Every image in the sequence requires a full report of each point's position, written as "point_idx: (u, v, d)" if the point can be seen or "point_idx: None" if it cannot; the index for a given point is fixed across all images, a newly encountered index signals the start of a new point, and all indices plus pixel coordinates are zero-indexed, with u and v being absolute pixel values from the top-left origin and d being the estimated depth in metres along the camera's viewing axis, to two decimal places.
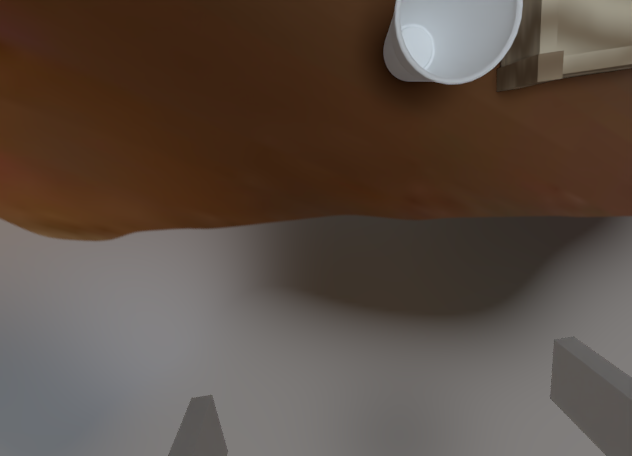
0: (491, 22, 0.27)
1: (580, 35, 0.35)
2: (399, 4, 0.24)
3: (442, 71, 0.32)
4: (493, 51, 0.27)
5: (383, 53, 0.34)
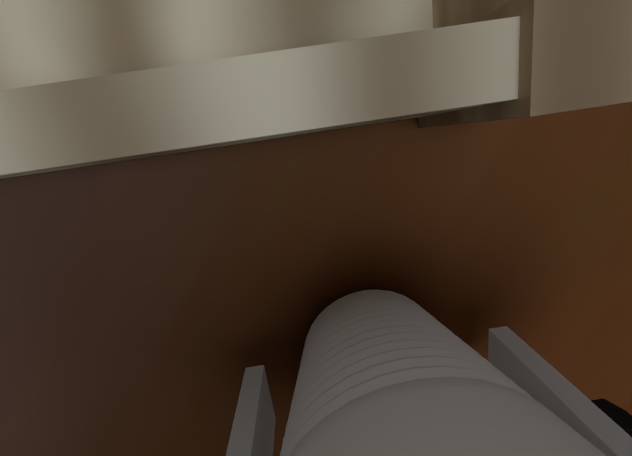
0: None
1: None
2: None
3: None
4: None
5: None
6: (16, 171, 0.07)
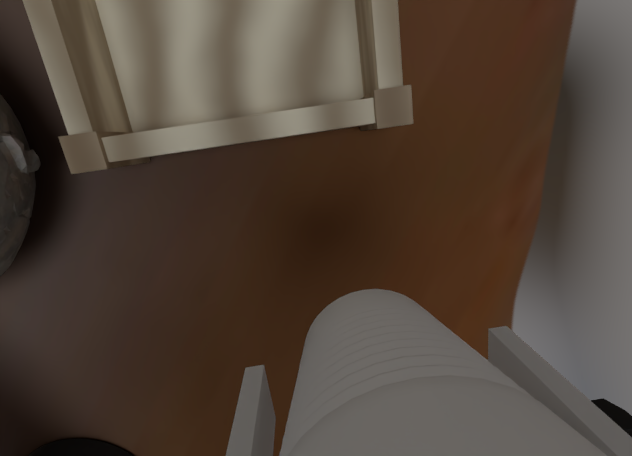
0: None
1: (323, 15, 0.24)
2: None
3: None
4: None
5: None
6: (214, 146, 0.21)
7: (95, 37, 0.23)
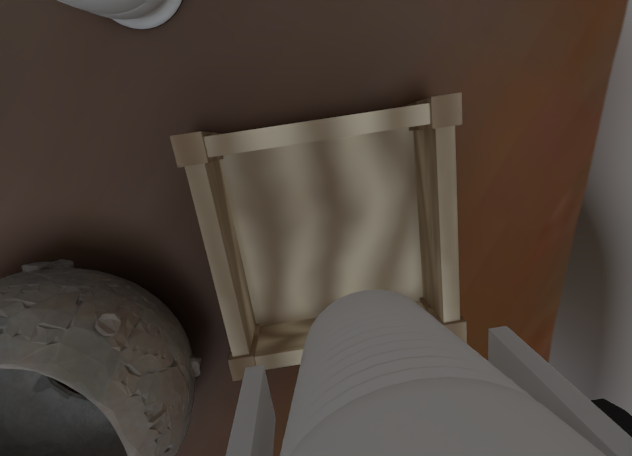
0: None
1: (397, 247, 0.34)
2: None
3: None
4: None
5: None
6: None
7: (241, 275, 0.32)
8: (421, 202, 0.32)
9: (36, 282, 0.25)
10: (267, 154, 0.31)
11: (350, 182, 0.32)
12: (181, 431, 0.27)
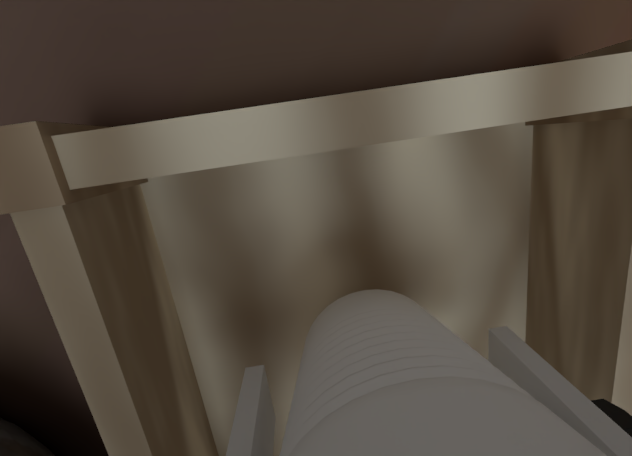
0: None
1: (484, 343, 0.18)
2: None
3: None
4: None
5: None
6: None
7: (190, 406, 0.17)
8: (544, 267, 0.16)
9: None
10: (239, 172, 0.15)
11: (403, 227, 0.16)
12: None
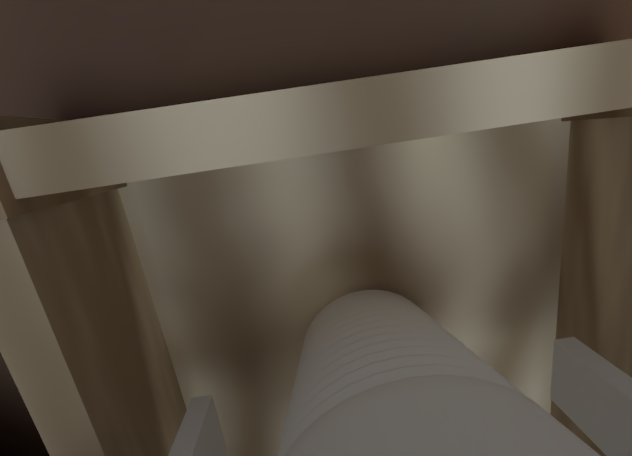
0: None
1: (508, 366, 0.16)
2: None
3: None
4: None
5: None
6: None
7: None
8: (580, 283, 0.14)
9: None
10: (232, 175, 0.13)
11: (419, 237, 0.14)
12: None
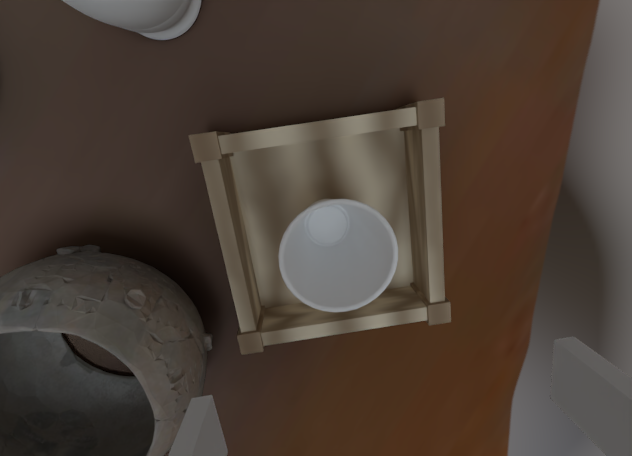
0: None
1: None
2: (332, 309, 0.28)
3: (356, 213, 0.33)
4: None
5: None
6: (328, 335, 0.35)
7: (249, 260, 0.36)
8: (411, 195, 0.35)
9: (72, 263, 0.28)
10: (273, 151, 0.34)
11: (347, 177, 0.36)
12: (196, 396, 0.31)
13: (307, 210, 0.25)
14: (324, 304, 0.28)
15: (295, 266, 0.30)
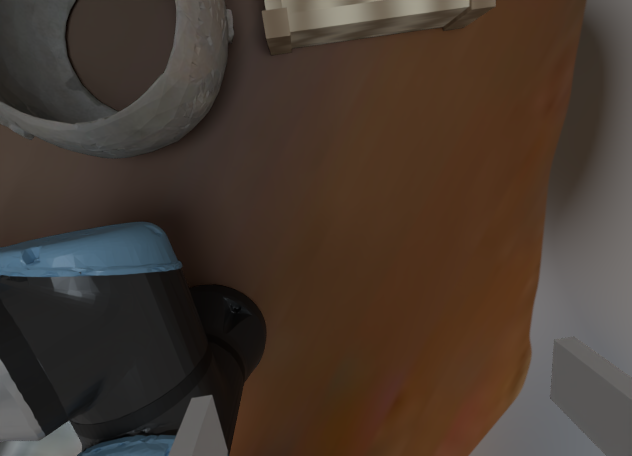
0: None
1: None
2: None
3: None
4: None
5: None
6: (361, 21, 0.32)
7: None
8: None
9: None
10: None
11: None
12: (219, 46, 0.28)
13: None
14: None
15: None
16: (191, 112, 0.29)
